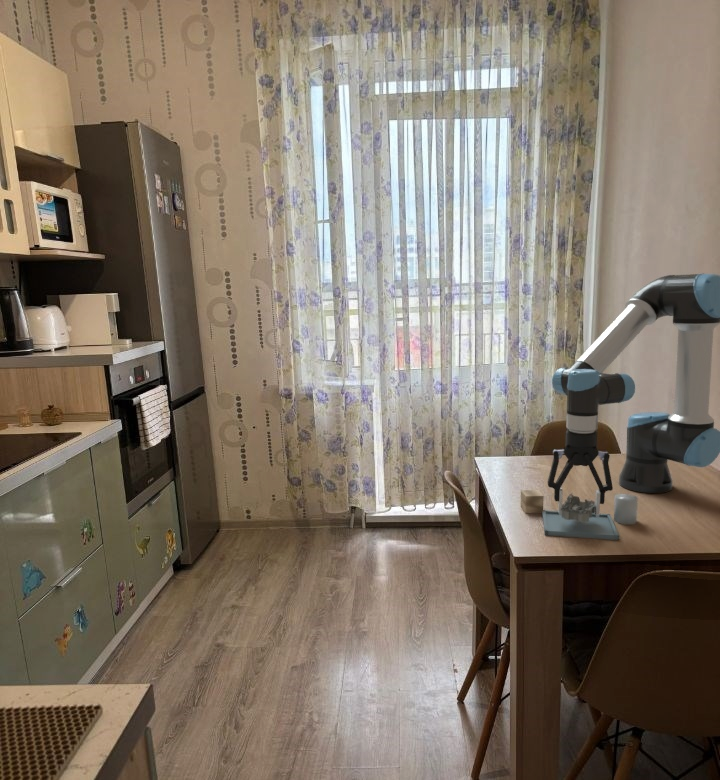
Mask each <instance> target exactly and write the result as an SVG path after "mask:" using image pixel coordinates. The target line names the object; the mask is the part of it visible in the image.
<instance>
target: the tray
mask: <svg viewBox="0 0 720 780" xmlns="http://www.w3.org/2000/svg"><path fill="white" fill-rule="evenodd" d="M541 515H542V524H543V533H544V536H554V537H567V538H581V539H582V538H584V539H595V540H597V539H599V540H611V541H619V540H620V535H619V532H618V530H617V528H616V525H615V523H614V522H615V521H614V519H613V518H612V515H611V514H610V513H599V517H596V515H595V513H594V514H593V513H592V517H591V518H590V517H589V521H588V522H579V521H577V520H566V519H564V518H562V515H559V512H558V510H547V509H543V510H542V513H541Z"/></svg>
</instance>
